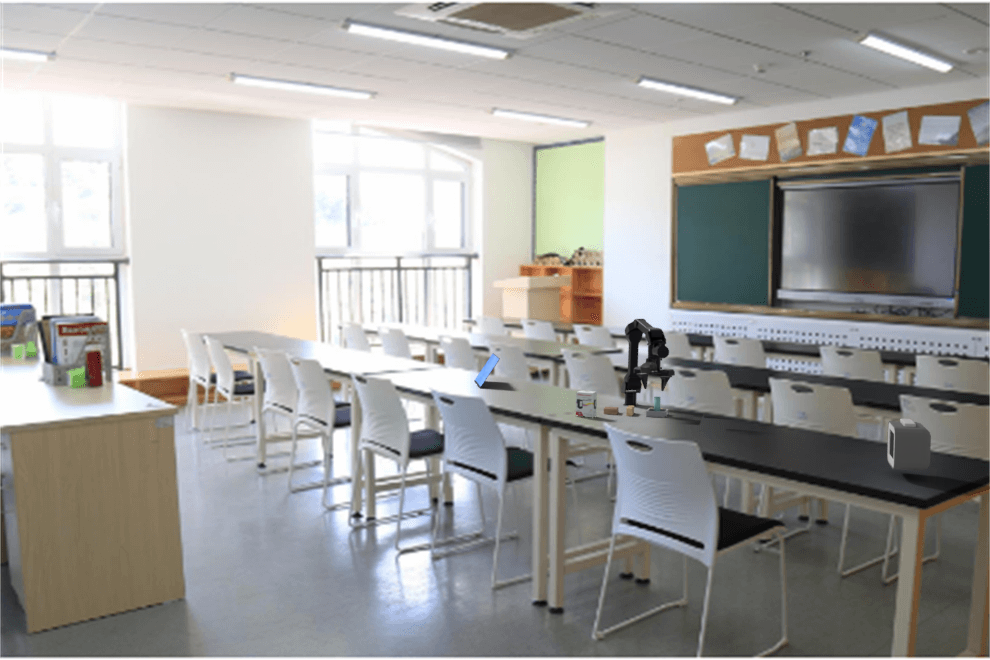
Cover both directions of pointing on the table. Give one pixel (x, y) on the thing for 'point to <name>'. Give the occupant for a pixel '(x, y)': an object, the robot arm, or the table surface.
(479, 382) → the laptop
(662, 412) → the tray
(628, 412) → the block
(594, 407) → the ink box
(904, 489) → the table surface
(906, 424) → the alarm clock
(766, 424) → the table surface
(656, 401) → the dowel
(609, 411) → the walnut block
